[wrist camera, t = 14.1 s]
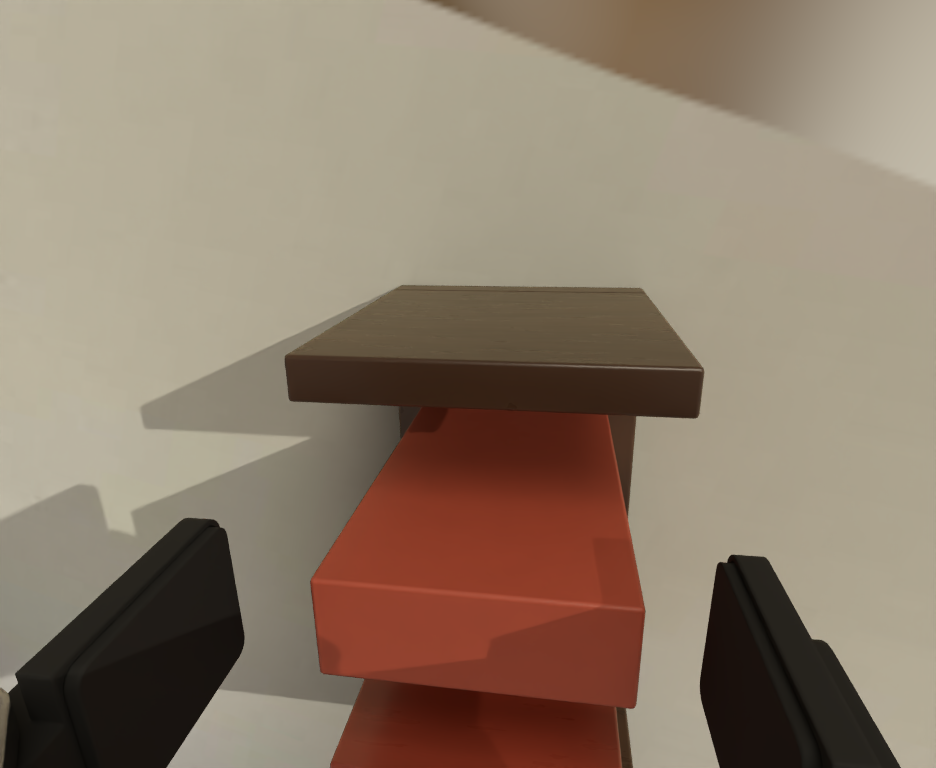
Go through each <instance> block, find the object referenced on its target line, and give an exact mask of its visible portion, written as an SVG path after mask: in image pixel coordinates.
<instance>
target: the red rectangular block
mask: <svg viewBox="0 0 936 768" xmlns="http://www.w3.org/2000/svg"><path fill="white" fill-rule="evenodd" d="M310 584H311V593H312V601H313V610H314V619H315V628H316V637H317V646H318V655H319V663H320V671H321V673H323V674H329V675H337V676H346V677H355V678H364V679H373V680H382V681H391V682H399V683H408V684H417V685H426V686H435V687H444V688H452V689H461V690H470V691H479V692H488V693H497V694H505V695H514V696H523V697H532V698H541V699H550V700H559V701H567V702H576V703H585V704H594V705H603V706H612V707H620V708H629V709H632V708H635V706H636V702H637V692H638V682H639V671H640V661H641V651H642V641H643V630H644V620H645V606H644V601H643V596H642V591H641V586H640V580H639V575H638V570H637V565H636V560H635V554H634V549H633V544H632V539H631V534H630V529H629V523H628V518H627V513H626V508H625V503H624V497H623V492H622V487H621V482H620V477H619V472H618V466H617V461H616V456H615V451H614V446H613V440H612V435H611V430H610V425H609V420H608V415H600V414H576V413H553V412H529V411H506V410H482V409H459V408H435V407H422V408H421V409H420V411H419V412H418V414H417V415H416V417H415V418H414V420H413V422H412V423H411V425H410V426H409V428H408V429H407V431H406V432H405V434H404V435H403V437H402V439H401V440H400V442H399V443H398V445H397V446H396V448H395V449H394V451H393V453H392V454H391V456H390V457H389V459H388V460H387V462H386V463H385V465H384V467H383V468H382V470H381V471H380V473H379V474H378V476H377V477H376V479H375V480H374V482H373V484H372V485H371V487H370V488H369V490H368V491H367V493H366V494H365V496H364V498H363V499H362V501H361V502H360V504H359V505H358V507H357V508H356V510H355V512H354V513H353V515H352V516H351V518H350V519H349V521H348V522H347V524H346V526H345V527H344V529H343V530H342V532H341V533H340V535H339V536H338V538H337V539H336V541H335V543H334V544H333V546H332V547H331V549H330V550H329V552H328V553H327V555H326V557H325V558H324V560H323V561H322V563H321V564H320V566H319V567H318V569H317V571H316V572H315V574H314V575H313V577H312V578H311V581H310Z"/></svg>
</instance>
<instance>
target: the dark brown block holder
mask: <svg viewBox="0 0 936 768" xmlns="http://www.w3.org/2000/svg"><path fill="white" fill-rule="evenodd" d="M285 368H286V376H287V385H288V394H289V399H290V401H294V402H318V403H341V404H365V405H388V406H399V419H400V438H401V439H402V437H403V435H404V434H405V432H406V431H407V429H408V428H409V426H410V425H411V423H412V422H413V420H414V418H415V417H416V415H417V414H418V412H419V411H420V409H421V408H422V407H435V408H459V409H482V410H506V411H529V412H553V413H576V414H600V415H608V420H609V425H610V430H611V435H612V440H613V446H614V451H615V456H616V461H617V466H618V472H619V477H620V482H621V487H622V492H623V497H624V503H625V508H626V513H627V518H628V511H629V499H630V487H631V474H632V462H633V450H634V438H635V426H636V416H647V417H670V418H698V416H699V413H700V404H701V396H702V387H703V379H704V369H703V367H702V366H701V365H700V363H699V362H698V361H697V359H696V358H695V357H694V356H693V354H692V353H691V352H690V350H689V349H688V348H687V346H686V345H685V344H684V343H683V341H682V340H681V339H680V337H679V336H678V335H677V333H676V332H675V331H674V330H673V328H672V327H671V326H670V324H669V323H668V322H667V321H666V319H665V318H664V317H663V315H662V314H661V313H660V311H659V310H658V309H657V308H656V306H655V305H654V304H653V302H652V301H651V300H650V298H649V297H648V296H647V295H646V293H645V292H644V291H643V289H641V288H586V287H501V286H416V285H402V286H399V287H398V288H396V289H395V290H393V291H391V292H389V293H388V294H386V295H385V296H383V297H381V298H380V299H378V300H376V301H375V302H373V303H371V304H370V305H368V306H366V307H365V308H363V309H361V310H360V311H358V312H356V313H355V314H353V315H351V316H350V317H348V318H347V319H345V320H343V321H342V322H340V323H338V324H337V325H335V326H333V327H332V328H330V329H328V330H327V331H325V332H323V333H322V334H320V335H318V336H317V337H315V338H314V339H312V340H310V341H309V342H307V343H305V344H304V345H302V346H300V347H299V348H297V349H295V350H294V351H292V352H290V353H289V354H287V355H286V356H285ZM330 768H633V764H632V756H631V747H630V739H629V730H628V722H627V714H626V708H620V707H612V706H603V705H594V704H585V703H576V702H567V701H559V700H550V699H541V698H532V697H523V696H514V695H505V694H497V693H488V692H479V691H470V690H461V689H452V688H444V687H435V686H426V685H417V684H408V683H399V682H391V681H382V680H373V679H364V682H363V684H362V687H361V689H360V692H359V694H358V697H357V699H356V702H355V704H354V706H353V709H352V711H351V714H350V716H349V719H348V721H347V724H346V726H345V729H344V731H343V734H342V736H341V739H340V741H339V744H338V746H337V748H336V751H335V753H334V756H333V758H332V761H331V763H330Z"/></svg>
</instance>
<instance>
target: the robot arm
mask: <svg viewBox="0 0 936 768" xmlns="http://www.w3.org/2000/svg"><path fill="white" fill-rule="evenodd" d="M243 646H244V630H243V625H242V619H241V613H240V607H239V601H238V596H237V590H236V584H235V578H234V573H233V567H232V561H231V555H230V549H229V544H228V538H227V533H226V531H225V529H224V528H220V526H219V524H218V523H217V521H215V520H212V519H197V518H185V519H183V520H182V521H180V522H179V523H178V524H177V525H176V526H175V527H174V528H173V529H172V530H170V531H169V532H168V533H167V534H166V535H165V536H164V537H163V538H162V539H161V540H160V541H159V542H157V543H156V544H155V545H154V546H153V547H152V548H151V549H150V550H149V551H148V552H147V553H146V554H144V555H143V556H142V557H141V558H140V559H139V560H138V561H137V562H136V563H135V564H134V565H133V566H131V567H130V568H129V569H128V570H127V571H126V572H125V573H124V574H123V575H122V576H121V577H119V578H118V579H117V580H116V581H115V582H114V583H113V584H112V585H111V586H110V587H109V588H108V589H106V590H105V591H104V592H103V593H102V594H101V595H100V596H99V597H98V598H97V599H96V600H95V601H93V602H92V603H91V604H90V605H89V606H88V607H87V608H86V609H85V610H84V611H83V612H82V613H80V614H79V615H78V616H77V617H76V618H75V619H74V620H73V621H72V622H71V623H70V624H68V625H67V626H66V627H65V628H64V629H63V630H62V631H61V632H60V633H59V634H58V635H57V636H55V637H54V638H53V639H52V640H51V641H50V642H49V643H48V644H47V645H46V646H45V647H44V648H42V649H41V650H40V651H39V652H38V653H37V654H36V655H35V656H34V657H33V658H32V659H31V660H29V661H28V662H27V663H26V664H25V665H24V666H23V667H22V668H21V669H20V670H19V671H17V672H16V673H15V675H16V678H17V681H18V684H17V685H16V686H15V687H14V688H13V689H12V690H11V691H10V692H9V693H7V692H6V691H5V690H3V689H2V688H0V768H166V767H167V766H168V764H169V763H170V761H171V760H172V758H173V757H174V755H175V754H176V752H177V751H178V749H179V748H180V746H181V745H182V743H183V742H184V740H185V738H186V737H187V735H188V734H189V732H190V731H191V729H192V728H193V726H194V725H195V723H196V722H197V720H198V719H199V717H200V716H201V714H202V713H203V711H204V710H205V708H206V707H207V705H208V704H209V702H210V700H211V699H212V697H213V696H214V694H215V693H216V691H217V690H218V688H219V687H220V685H221V684H222V682H223V681H224V679H225V678H226V676H227V675H228V673H229V672H230V670H231V669H232V667H233V666H234V664H235V662H236V661H237V659H238V658H239V656H240V654H241V652H242V649H243ZM700 694H701V701H702V705H703V709H704V712H705V716H706V719H707V723H708V727H709V730H710V734H711V738H712V741H713V745H714V748H715V752H716V756H717V759H718V763H719V767H720V768H901V767H900V765H899V764H898V762H897V760H896V759H895V757H894V755H893V753H892V752H891V750H890V748H889V747H888V745H887V743H886V741H885V740H884V738H883V736H882V734H881V733H880V731H879V729H878V728H877V726H876V724H875V722H874V721H873V719H872V717H871V716H870V714H869V712H868V710H867V709H866V707H865V705H864V704H863V702H862V700H861V698H860V697H859V695H858V693H857V691H856V690H855V688H854V686H853V685H852V683H851V681H850V679H849V678H848V676H847V674H846V673H845V671H844V669H843V667H842V666H841V664H840V662H839V661H838V659H837V657H836V655H835V654H834V652H833V650H832V649H831V648H830V646H829V645H828V644H827V643H826V642H824V641H822V640H814V639H811V637H810V635H809V633H808V631H807V630H806V628H805V626H804V624H803V622H802V621H801V619H800V617H799V615H798V613H797V611H796V610H795V608H794V606H793V604H792V602H791V601H790V599H789V597H788V595H787V593H786V591H785V590H784V588H783V586H782V584H781V582H780V581H779V579H778V577H777V575H776V573H775V572H774V570H773V568H772V566H771V564H770V562H769V561H768V560H767V558H765V557H758V556H743V555H731V556H730V557H729V559H728V562H727V563H723V562H720V563H718V565H717V569H716V575H715V581H714V588H713V595H712V602H711V609H710V616H709V622H708V629H707V636H706V643H705V650H704V656H703V663H702V670H701V677H700Z"/></svg>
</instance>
